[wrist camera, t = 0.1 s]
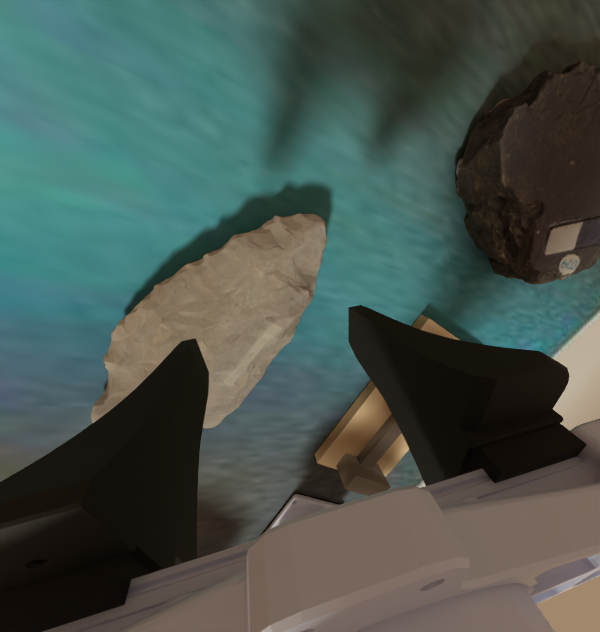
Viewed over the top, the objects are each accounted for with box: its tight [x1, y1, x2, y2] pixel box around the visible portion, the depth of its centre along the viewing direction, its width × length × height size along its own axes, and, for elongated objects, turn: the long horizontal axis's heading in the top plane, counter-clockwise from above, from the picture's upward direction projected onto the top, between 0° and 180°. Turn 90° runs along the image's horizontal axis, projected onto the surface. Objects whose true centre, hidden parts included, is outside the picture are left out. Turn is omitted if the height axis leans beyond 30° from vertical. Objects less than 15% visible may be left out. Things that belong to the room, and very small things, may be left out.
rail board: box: [315, 314, 459, 496], centre depth 27 cm, size 20×10×4 cm, turn 146°
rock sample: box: [455, 61, 600, 284], centre depth 21 cm, size 18×16×5 cm
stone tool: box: [90, 213, 327, 428], centre depth 20 cm, size 12×5×25 cm
